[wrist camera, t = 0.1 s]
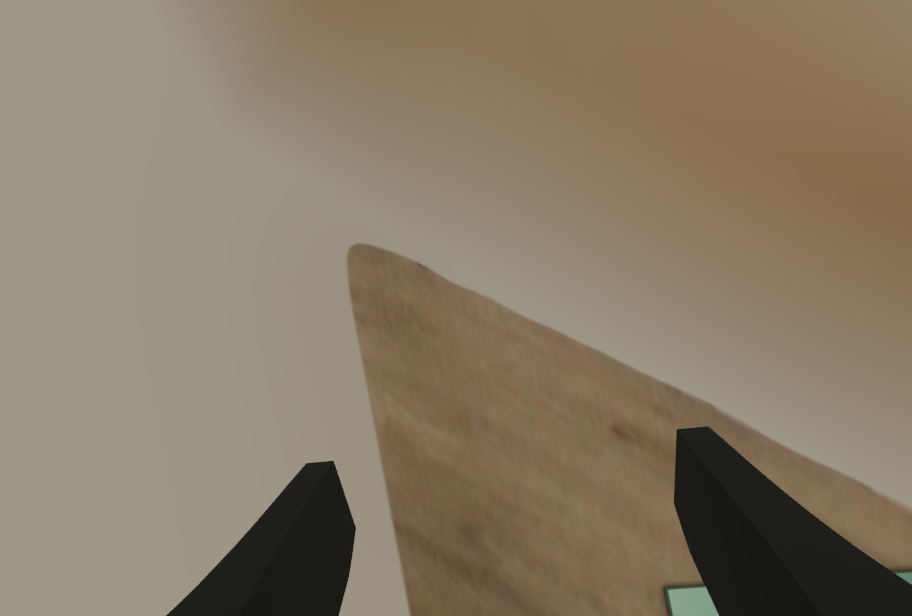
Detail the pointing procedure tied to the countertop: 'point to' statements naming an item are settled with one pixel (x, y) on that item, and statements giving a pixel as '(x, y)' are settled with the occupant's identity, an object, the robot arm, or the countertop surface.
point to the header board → (695, 605)
